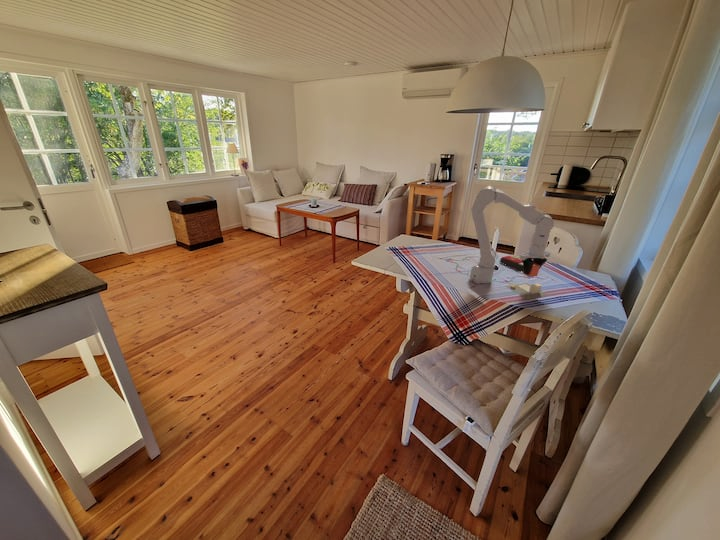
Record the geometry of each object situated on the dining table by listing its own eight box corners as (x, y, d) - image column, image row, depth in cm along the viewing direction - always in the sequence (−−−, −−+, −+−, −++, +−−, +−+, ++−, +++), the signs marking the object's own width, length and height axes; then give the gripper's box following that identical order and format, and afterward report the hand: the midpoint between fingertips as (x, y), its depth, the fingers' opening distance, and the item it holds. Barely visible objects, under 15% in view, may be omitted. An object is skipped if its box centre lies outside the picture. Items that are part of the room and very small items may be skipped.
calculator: (513, 253, 165) (539, 261, 152) (512, 260, 166) (537, 269, 154) (500, 256, 160) (525, 265, 148) (499, 264, 162) (523, 273, 149)
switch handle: (532, 293, 125) (534, 286, 124) (529, 291, 127) (531, 284, 126) (540, 292, 126) (542, 285, 125) (536, 290, 128) (538, 283, 127)
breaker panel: (526, 302, 122) (527, 297, 121) (505, 289, 132) (506, 284, 131) (548, 298, 125) (549, 293, 124) (525, 285, 135) (527, 281, 135)
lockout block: (522, 273, 129) (525, 262, 127) (529, 272, 130) (532, 262, 128) (530, 277, 126) (533, 266, 124) (537, 275, 127) (540, 265, 125)
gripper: (533, 248, 117) (524, 279, 122) (560, 245, 121) (550, 274, 126) (519, 243, 123) (511, 272, 128) (545, 240, 127) (537, 268, 132)
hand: (530, 273), depth 128 cm, fingers closed on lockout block, 4 cm apart
